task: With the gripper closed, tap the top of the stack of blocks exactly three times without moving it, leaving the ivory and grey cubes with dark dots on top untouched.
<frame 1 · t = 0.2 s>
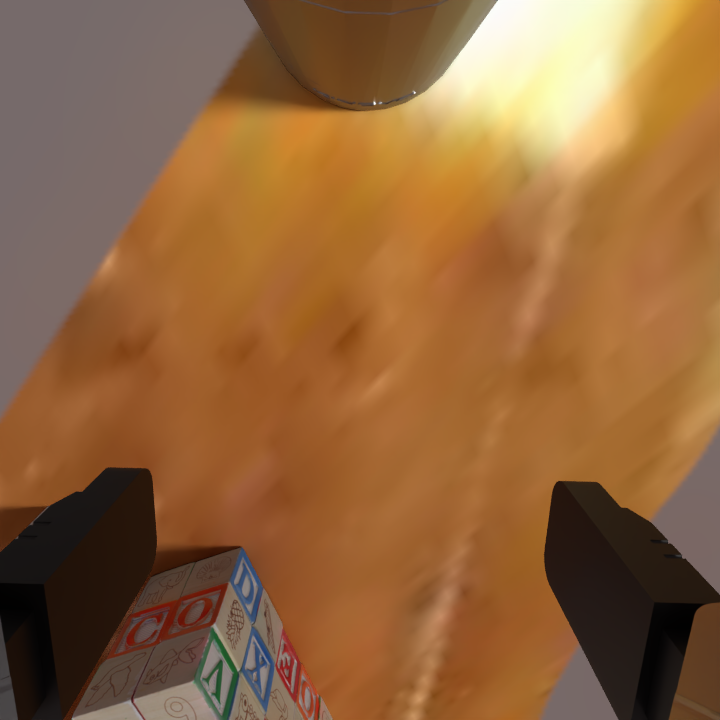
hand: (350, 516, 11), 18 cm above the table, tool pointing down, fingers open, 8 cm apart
stack of blocks: (267, 687, 35), on the table
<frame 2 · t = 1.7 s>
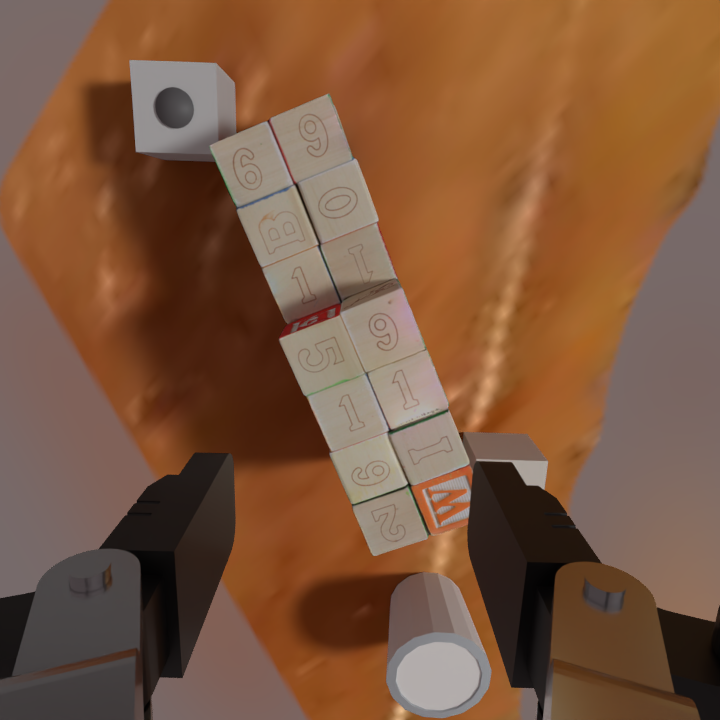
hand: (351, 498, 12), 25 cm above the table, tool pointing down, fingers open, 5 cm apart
stack of blocks: (355, 302, 36), on the table
ivory marked cube: (492, 461, 39), on the table
grey marked cube: (199, 122, 33), on the table
shot glass: (426, 601, 42), on the table
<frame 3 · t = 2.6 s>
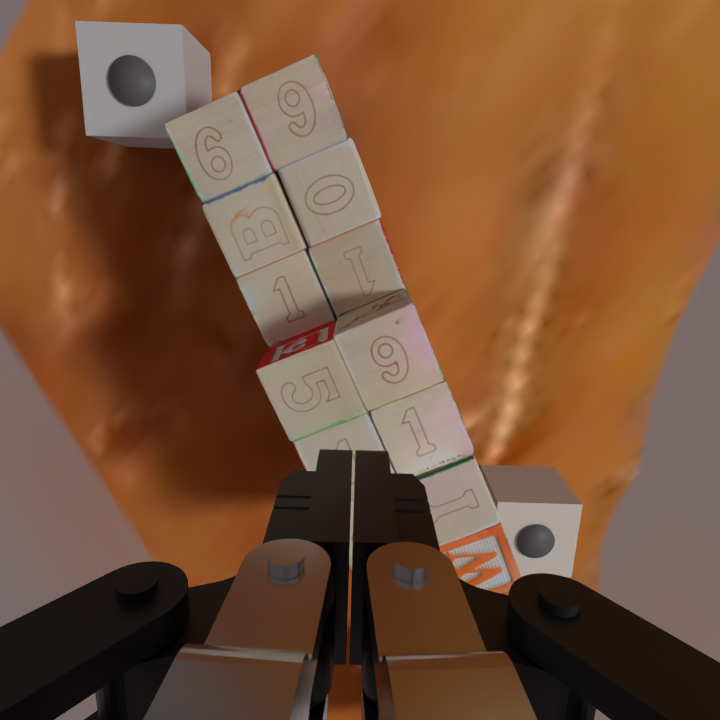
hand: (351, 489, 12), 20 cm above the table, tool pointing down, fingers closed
stack of blocks: (355, 312, 31), on the table
ivory marked cube: (513, 498, 34), on the table
grey marked cube: (168, 101, 28), on the table
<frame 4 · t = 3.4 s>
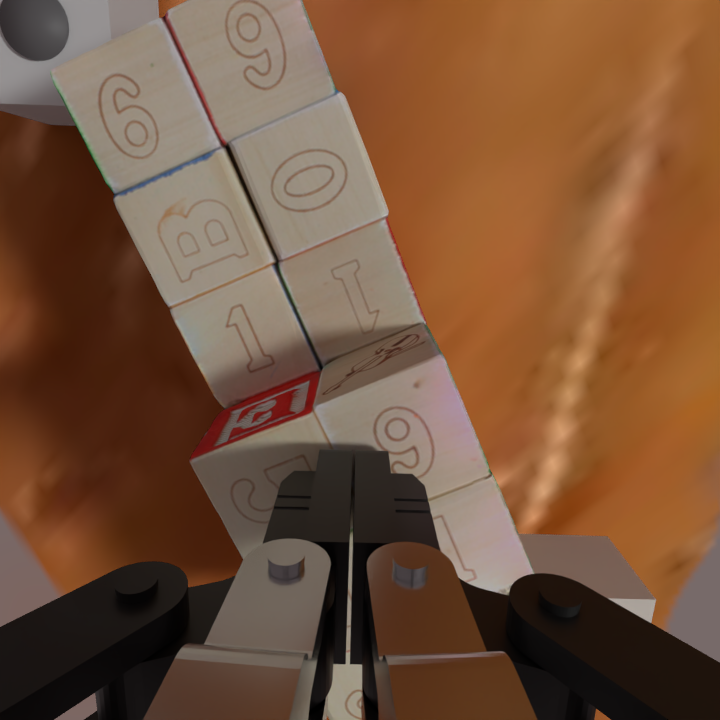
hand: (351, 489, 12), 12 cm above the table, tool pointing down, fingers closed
stack of blocks: (351, 340, 24), on the table, touching gripper
ivory marked cube: (554, 574, 27), on the table
grey marked cube: (103, 63, 21), on the table
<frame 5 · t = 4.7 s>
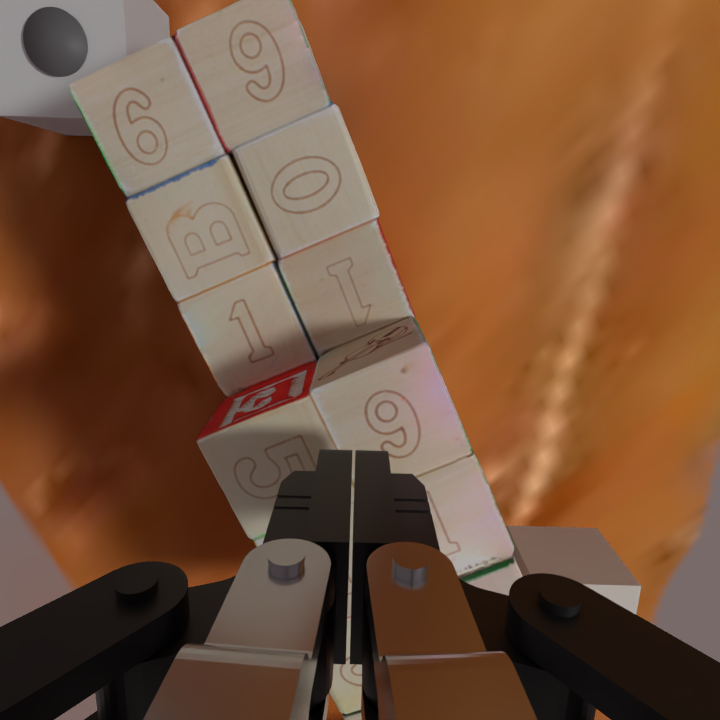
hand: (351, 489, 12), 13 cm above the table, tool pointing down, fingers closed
stack of blocks: (348, 338, 25), on the table
ivory marked cube: (546, 565, 28), on the table
grey marked cube: (116, 77, 22), on the table
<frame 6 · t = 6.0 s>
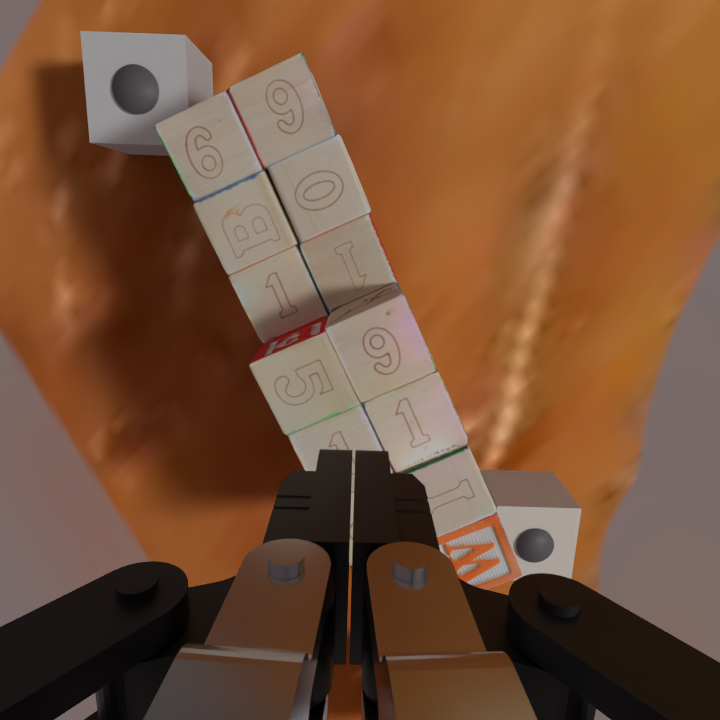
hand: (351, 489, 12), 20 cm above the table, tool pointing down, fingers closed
stack of blocks: (349, 312, 31), on the table
ivory marked cube: (512, 503, 34), on the table
grey marked cube: (170, 110, 28), on the table
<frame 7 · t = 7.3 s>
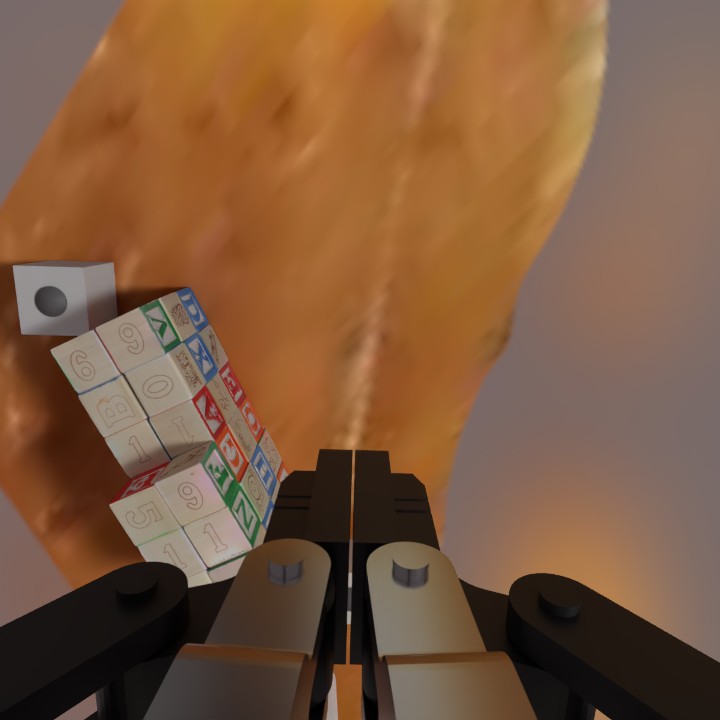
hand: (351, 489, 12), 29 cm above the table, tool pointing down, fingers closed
stack of blocks: (222, 425, 43), on the table
grey marked cube: (85, 292, 40), on the table
shot glass: (304, 678, 49), on the table
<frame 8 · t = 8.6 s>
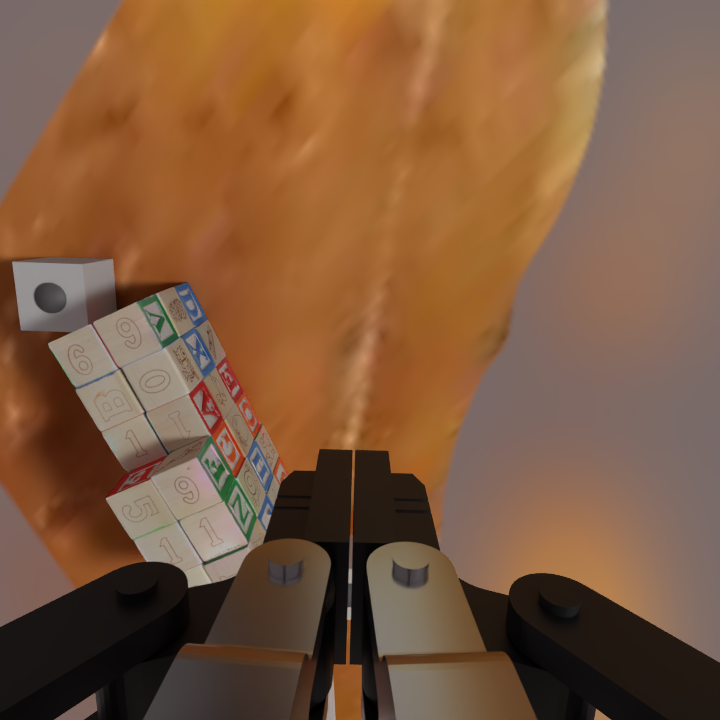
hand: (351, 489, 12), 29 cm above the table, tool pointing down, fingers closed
stack of blocks: (219, 420, 43), on the table
grey marked cube: (84, 289, 40), on the table
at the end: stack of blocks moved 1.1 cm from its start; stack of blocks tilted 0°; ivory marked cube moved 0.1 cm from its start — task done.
